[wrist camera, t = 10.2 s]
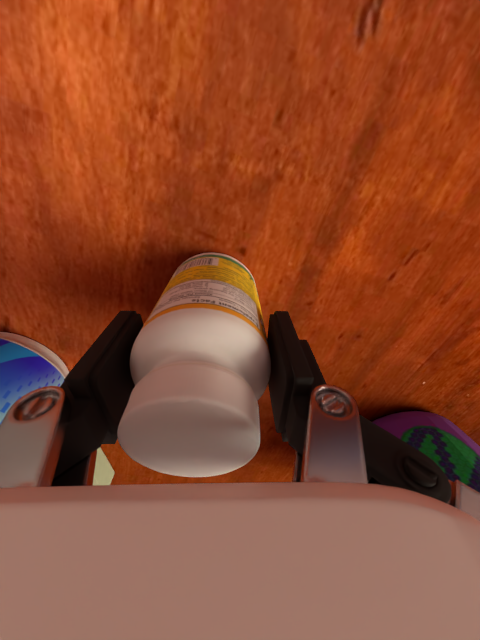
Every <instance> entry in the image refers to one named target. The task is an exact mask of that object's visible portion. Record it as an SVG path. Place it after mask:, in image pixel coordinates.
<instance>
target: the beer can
mask: <svg viewBox="0 0 480 640" xmlns="http://www.w3.org/2000/svg"><path fill="white" fill-rule="evenodd" d="M68 374H69V371H68V369H67V367H66V365H65V364H64V363H63V361H62V360H61V359H60V358H59V357H58V356H57V355H56V354H55V353H54V352H52V351H51V350H50V349H48V348H47V347H45V346H44V345H42V344H40V343H38V342H36V341H34V340H32V339H29V338H27V337H24V336H21V335H17V334H13V333H7V332H0V424H1V423H2V421H3V419H4V417H5V415H6V413H7V411H8V410H9V409H10V407H11V406H12V405H13V404H14V403H15V402H16V401H17V400H18V399H20V398H21V397H23V396H24V395H26V394H27V393H29V392H31V391H34V390H36V389H39V388H42V387H47V386H59V387H60V386H61V385H62V384H63V382H64V379H65V377H66V376H67V375H68Z"/></svg>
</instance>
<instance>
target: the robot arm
mask: <svg viewBox="0 0 480 640" xmlns="http://www.w3.org/2000/svg"><path fill="white" fill-rule="evenodd" d="M143 326H144V325H143V321H142V318H141V315H140V314H137V313H136V311H120V312H119V313H118V314H117V316H116V317H115V318H114V319H113V320H112V322H111V323H110V324H109V325H108V326H107V328H106V329H105V330H104V331H103V333H102V334H101V335H100V336H99V337H98V339H97V340H96V341H95V342H94V343H93V345H92V346H91V347H90V348H89V349H88V351H87V352H86V353H85V354H84V356H83V357H82V358H81V359H80V360H79V362H78V363H77V364H76V365H75V366H74V368H73V369H72V370H71V371H70V372H69V374H68V375H67V376H66V377H65V379H64V382H63V384H62V385H61V386H60V387H59V386H47V387H42V388H39V389H36V390H34V391H31V392H29V393H27V394H26V395H24V396H23V397H21V398H20V399H18V400H17V401H16V402H15V403H14V404H13V405H12V406H11V407H10V409H9V410H8V411H7V413H6V415H5V417H4V419H3V421H2V423H1V424H0V640H480V493H479V492H478V491H476V490H474V489H472V488H471V487H469V486H467V485H466V484H464V483H462V482H460V481H459V480H455V481H454V482H452V481H451V480H449V479H448V478H447V476H446V475H445V473H444V472H443V471H442V469H441V468H440V467H439V466H438V465H437V464H436V463H435V462H434V461H433V460H432V459H431V458H429V457H428V456H427V455H425V454H424V453H422V452H421V451H419V450H417V449H416V448H414V447H412V446H411V445H409V444H407V443H406V442H404V441H402V440H401V439H399V438H397V437H396V436H394V435H392V434H391V433H389V432H388V431H386V430H384V429H383V428H381V427H379V426H378V425H376V424H374V423H373V422H371V421H369V420H368V419H366V418H364V417H363V416H361V415H359V410H358V406H357V403H356V401H355V399H354V398H353V397H352V396H351V395H350V394H349V393H348V392H347V391H345V390H344V389H342V388H340V387H337V386H335V385H329V384H326V382H325V380H324V378H323V376H322V373H321V371H320V369H319V366H318V364H317V362H316V360H315V357H314V355H313V353H312V351H311V348H310V346H309V344H308V342H307V341H306V340H299V339H298V336H297V334H296V331H295V329H294V326H293V324H292V321H291V319H290V316H289V313H288V312H287V311H275V312H274V314H270V318H269V328H268V338H267V342H268V348H269V353H270V360H271V373H270V378H269V382H268V385H269V391H270V397H271V403H272V409H273V415H274V421H275V427H276V432H277V433H281V435H282V440H283V442H288V443H289V445H290V446H291V447H292V448H294V449H295V450H296V451H295V459H294V467H293V476H292V482H272V483H201V484H146V485H96V486H92V485H93V478H94V471H95V464H96V456H97V449H98V448H100V446H101V444H115V443H116V440H117V438H118V436H117V431H118V426H119V423H120V420H121V418H122V416H123V413H124V411H125V408H126V406H127V404H128V401H129V398H130V395H131V392H132V390H133V389H134V387H135V384H134V382H133V379H132V376H131V372H130V355H131V350H132V347H133V344H134V342H135V340H136V338H137V336H138V334H139V333H140V331H141V329H142V327H143Z"/></svg>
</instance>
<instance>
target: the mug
mask: <svg viewBox="0 0 480 640" xmlns="http://www.w3.org/2000/svg"><path fill="white" fill-rule="evenodd" d="M373 423H374V424H376V425H378V426H379V427H381V428H383V429H384V430H386V431H388V432H389V433H391V434H392V435H394V436H396V437H397V438H399V439H401V440H402V441H404V442H406V443H407V444H409V445H411V446H412V447H414V448H416V449H417V450H419V451H421V452H422V453H424V454H425V455H427V456H428V457H429V458H431V459H432V460H433V461H434V462H435V463H436V464H437V465H438V466H439V467H440V468H441V469H442V471H443V472H444V473H445V475H446V476H447V478H448V479H449V480H451V481H452V482H454V481H455V480H459V481H460V482H462V483H464V484H466V485H467V486H469V487H471V488H472V489H474V490H476V491H478V492H479V493H480V447H479V446H478V445H477V444H476V443H475V442H474V441H473V440H472V439H471V438H469V437H468V436H467V435H466V434H465V433H464V432H463V431H462V430H460V429H459V428H458V427H457V426H456V425H454V424H453V423H452V422H451V421H450V420H448V419H446V418H444V417H442V416H440V415H437V414H434V413H430V412H421V411H408V412H400V413H395V414H390V415H387V416H384V417H382V418H379V419H376V420H374V421H373Z"/></svg>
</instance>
